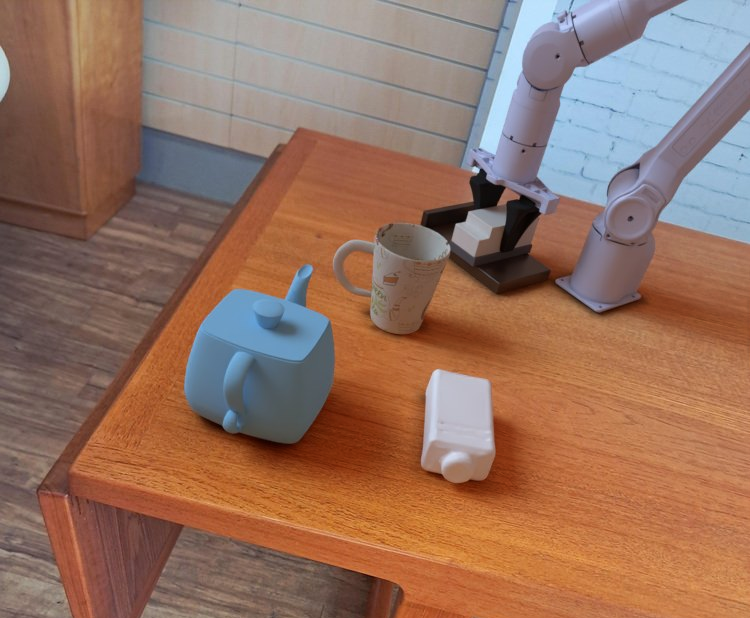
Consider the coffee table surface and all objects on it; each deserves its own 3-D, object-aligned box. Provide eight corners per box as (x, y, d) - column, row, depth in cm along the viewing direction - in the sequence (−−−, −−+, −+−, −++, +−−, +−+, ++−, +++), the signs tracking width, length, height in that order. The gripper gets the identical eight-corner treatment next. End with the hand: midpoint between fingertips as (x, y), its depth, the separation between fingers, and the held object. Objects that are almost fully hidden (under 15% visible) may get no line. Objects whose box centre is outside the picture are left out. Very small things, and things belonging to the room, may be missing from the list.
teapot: (351, 371, 83) (370, 275, 75) (290, 477, 70) (305, 374, 62) (242, 335, 84) (249, 236, 76) (162, 433, 71) (161, 326, 63)
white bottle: (417, 483, 73) (428, 449, 70) (423, 398, 82) (432, 365, 79) (485, 496, 73) (498, 463, 70) (483, 411, 82) (495, 378, 79)
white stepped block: (505, 235, 109) (516, 201, 106) (530, 252, 107) (542, 218, 103) (447, 248, 103) (457, 212, 100) (472, 267, 101) (483, 231, 97)
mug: (424, 348, 88) (445, 268, 81) (317, 319, 89) (329, 237, 82) (434, 311, 94) (455, 234, 87) (334, 284, 95) (347, 205, 88)
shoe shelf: (469, 223, 113) (475, 200, 111) (547, 279, 105) (556, 255, 103) (417, 234, 108) (423, 210, 105) (496, 294, 100) (504, 269, 98)
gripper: (461, 115, 96) (435, 219, 105) (545, 166, 89) (509, 273, 98) (501, 111, 100) (473, 212, 109) (584, 160, 93) (546, 263, 102)
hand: (492, 240), depth 104 cm, fingers closed on white stepped block, 4 cm apart
